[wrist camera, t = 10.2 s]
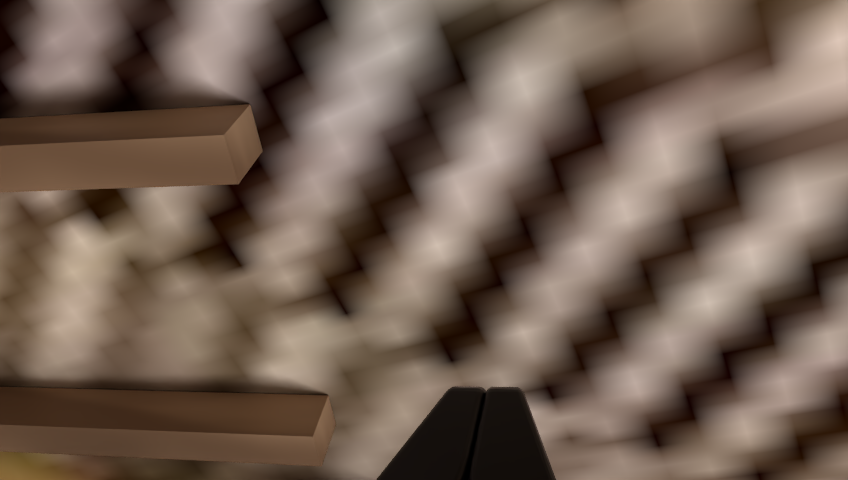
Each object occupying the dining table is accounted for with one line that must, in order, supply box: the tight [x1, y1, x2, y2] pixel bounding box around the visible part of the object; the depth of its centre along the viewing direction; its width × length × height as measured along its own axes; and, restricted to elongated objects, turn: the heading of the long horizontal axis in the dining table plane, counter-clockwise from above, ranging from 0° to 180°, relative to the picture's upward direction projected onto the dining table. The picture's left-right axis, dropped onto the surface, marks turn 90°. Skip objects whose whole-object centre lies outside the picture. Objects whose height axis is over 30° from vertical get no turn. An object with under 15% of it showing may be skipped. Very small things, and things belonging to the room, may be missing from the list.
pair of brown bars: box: [0, 104, 336, 466], centre depth 27 cm, size 13×16×2 cm
